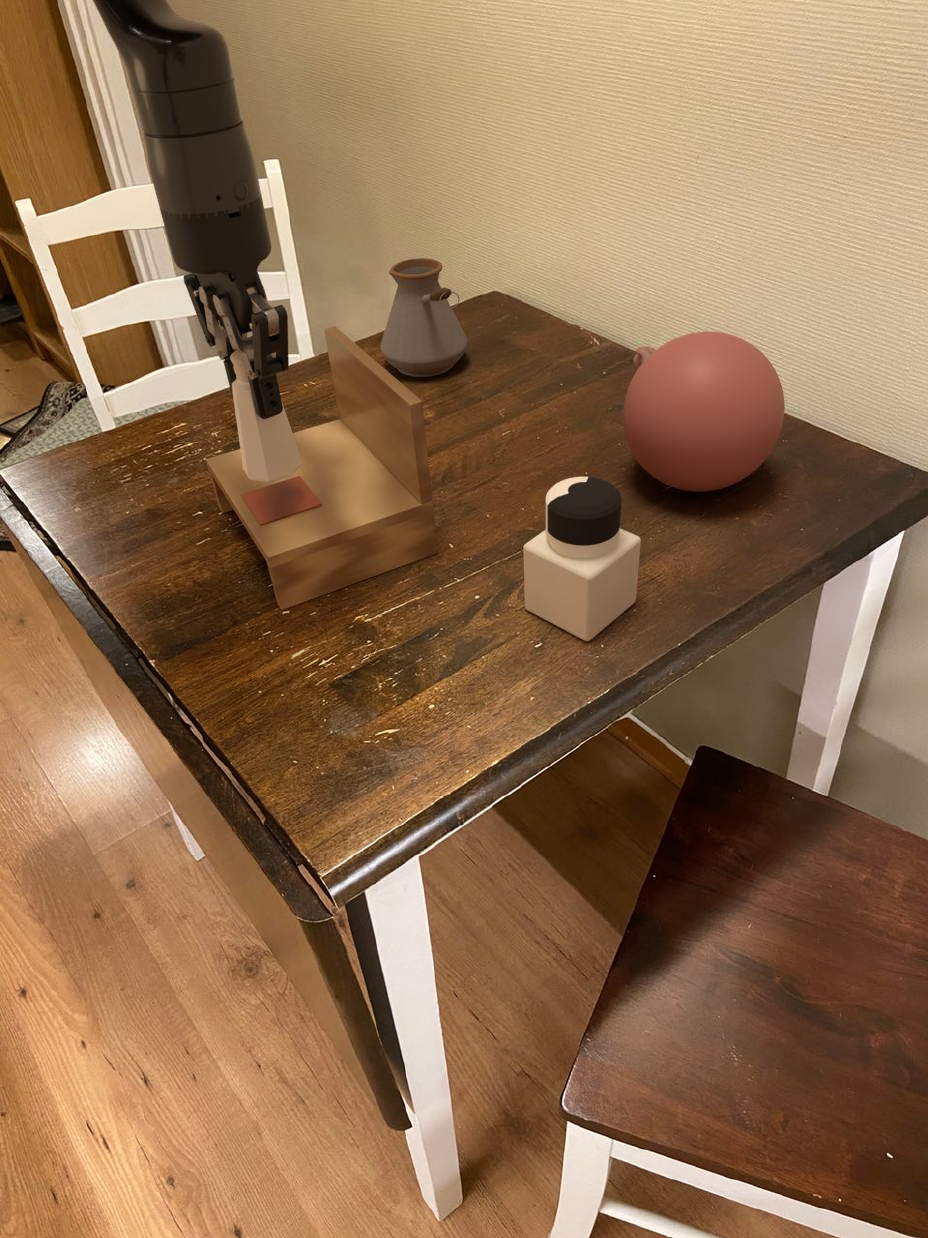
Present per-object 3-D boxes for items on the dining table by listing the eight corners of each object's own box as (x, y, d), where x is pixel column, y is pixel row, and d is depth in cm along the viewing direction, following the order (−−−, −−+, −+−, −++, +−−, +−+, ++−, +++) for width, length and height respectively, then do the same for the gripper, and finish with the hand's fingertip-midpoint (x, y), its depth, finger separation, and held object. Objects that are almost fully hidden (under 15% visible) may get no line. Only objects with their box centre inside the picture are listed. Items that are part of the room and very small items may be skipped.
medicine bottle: (637, 602, 78) (647, 485, 70) (587, 644, 74) (592, 526, 66) (573, 571, 82) (575, 458, 74) (523, 609, 78) (520, 494, 70)
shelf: (281, 610, 80) (241, 455, 70) (219, 508, 94) (178, 366, 83) (437, 553, 85) (422, 400, 75) (357, 464, 99) (334, 325, 89)
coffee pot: (374, 355, 121) (359, 242, 111) (454, 340, 123) (447, 228, 113) (412, 424, 105) (399, 300, 95) (503, 406, 107) (499, 282, 98)
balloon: (705, 414, 103) (722, 281, 93) (800, 503, 88) (832, 356, 78) (581, 439, 100) (585, 305, 90) (657, 534, 85) (671, 386, 75)
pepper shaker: (305, 450, 83) (282, 336, 75) (299, 480, 78) (275, 363, 71) (247, 454, 83) (219, 341, 75) (239, 485, 78) (208, 368, 71)
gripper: (124, 188, 68) (183, 394, 79) (204, 225, 59) (258, 451, 70) (213, 168, 71) (257, 368, 83) (301, 200, 63) (338, 419, 74)
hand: (258, 405), depth 76 cm, fingers closed on pepper shaker, 4 cm apart
